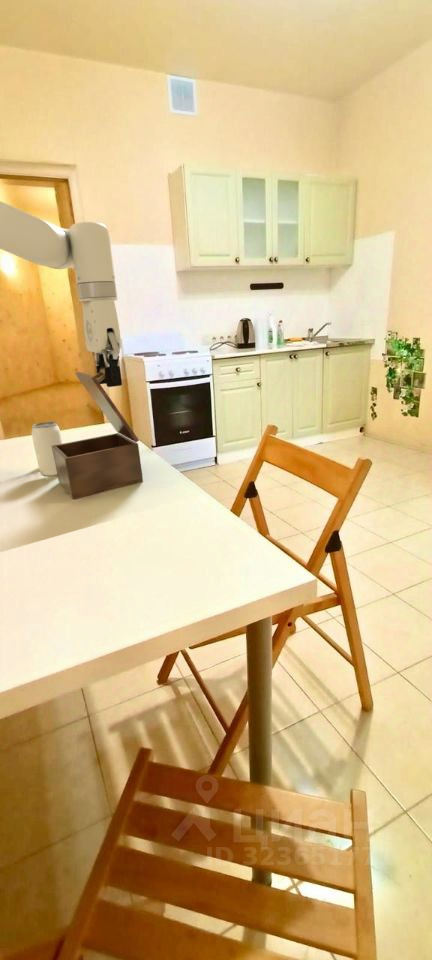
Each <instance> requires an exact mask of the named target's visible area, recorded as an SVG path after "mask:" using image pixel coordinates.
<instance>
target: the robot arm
mask: <svg viewBox="0 0 432 960" xmlns="http://www.w3.org/2000/svg"><path fill="white" fill-rule="evenodd" d="M110 237H111V236H110V232H109V229H108V227H107V226H106V225H105V224H104V223H101V222H98V221H81V222H80V221H79V222H75V223H73V224H71V225H70V227H69V228H63V227H60V226H57V225H55V224H53V223H51V222H49V221H47V220H45V219H42V218H40V217H38V216H35V215H33V214H31V213H28V212H26V211H24V210H22V209H20V208H17V207H15V206H12V205H10V204H8V203H6V202H4V201H2V200H0V250H2V251H5V252H7V253H9V254H11V255H14V256H15V257H18V258H20V259H23V260H25V261H28V262H29V263H32V264H35V265H38V266H41V267H46V268H50V269H54V270H65V269H70V268H73V269H74V274H75V275H74V277H75V282H76V283H75V284H76V289H77V295H78V301H79V303H82V320H83V321H82V322H83V330H84V341H85V348H86V350H87V351H88V352H90V353H93V356H94V364H95V369H96V374H97V373H98V372H99V369H100V368H102V367H103V368H104V370H105V377H106V378H105V379H104V380H102V381H101V382H99V383H100V385H106V387H107V388H112V387H114V388H115V387H120V386H121V387H122V385H123V380H122V372H121V362H120V353H121V352H120V351H121V349H122V338H121V330H120V324H119V323H120V322H119V318H118V313H117V307H116V303H115V301H118V293H117V285H116V278H115V270H114V262H113V253H112V246H111V238H110ZM101 376H102V375H101ZM101 376H100V377H101ZM98 378H99V377H98ZM98 378H97V379H98Z"/></svg>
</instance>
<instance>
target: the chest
mask: <svg viewBox="0 0 432 960" xmlns="http://www.w3.org/2000/svg"><path fill="white" fill-rule="evenodd" d="M52 451H53V455H54V460H55V465H56V470H57V475H56V476H57V480H58V483H59V484H60V485H61V487H62V488H63V489H64V490H65V491H66V493H67V494H68V495H69V496H70V498H71V499H72V500H75V499H79V498H84V497H88V496H92V495H96V494H100V493H104V492H107V491H112V490H115V489H119V488H123V487H126V486H131V485H134V484H139V483H142V482H144V479H143V471H142V463H141V455H140V447H139V443H138V442H135V441H133V440H131V439H129V438H127V437H125V436H124V435H122V434H120V433H118V432H116V433H110V434H106V435H100V436H96V437H95V436H94V437H90V438H86V439H80V440H75V441H69V442H65V443H63V444H59V445H54V446H52Z"/></svg>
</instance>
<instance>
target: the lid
mask: <svg viewBox="0 0 432 960" xmlns="http://www.w3.org/2000/svg"><path fill="white" fill-rule="evenodd" d="M74 374H75V376H76V377H77V378H78V381H80V383H81V384H82V385H83V387H84V389H85V390H86V391H87V392H88V394H89V395H90V397H91V398H92V399H93V401H94V402H95V404H96V405H97V406H98V408H99V409H100V410H101V412H102V414H103V415H104V416H105V417H106V419H107V420H108V422H109V424H111V426H112V427H113V429H114V430H115V431H116V433H119V434H121V435H123V436H125V437H127V438H129V439H130V440H132V441H134V442H136V443H138V442H139V441H140V439H139V437H137V435H136V434H135V432H134V430H133V429H132V428H131V427H130V425H129V423H128V422H127V421H126V419H125V418H124V416H123V415H122V413H121V412H120V410H119V409H118V407H117V406H116V405H115V403H114V402H113V400H112V399H111V397H110V396H109V395H108V393H107V392H106V390H105V389H104V387H103V386H102V384H100V383H99V382H101V381H102V380H104V379H105V378H106V377H105V370H104V368H103V367H102V368H100V369H99V372H98V373H97V372H96V373H95V374H94V375H92V374H88V373H85V372H81V371H76V372H74ZM101 375H102V376H101ZM100 376H101V377H100ZM98 377H99V378H98Z"/></svg>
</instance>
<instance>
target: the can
mask: <svg viewBox="0 0 432 960" xmlns="http://www.w3.org/2000/svg"><path fill="white" fill-rule="evenodd" d="M31 428H32V429H31V437H32V443H33V447H34V452H35V456H36V461H37V466H38V469H39V473H40V475H42V476H43V477H54V476H55V477H56V476H58V475H57V470H56V465H55V460H54V455H53V451H52V446H54V445H59V444H64V443H63V438H62V433H61V429H60V427H59V426H58V422H57V421H43V422H42V421H41V422H37V423H34V424H33V425H32V426H31Z"/></svg>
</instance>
